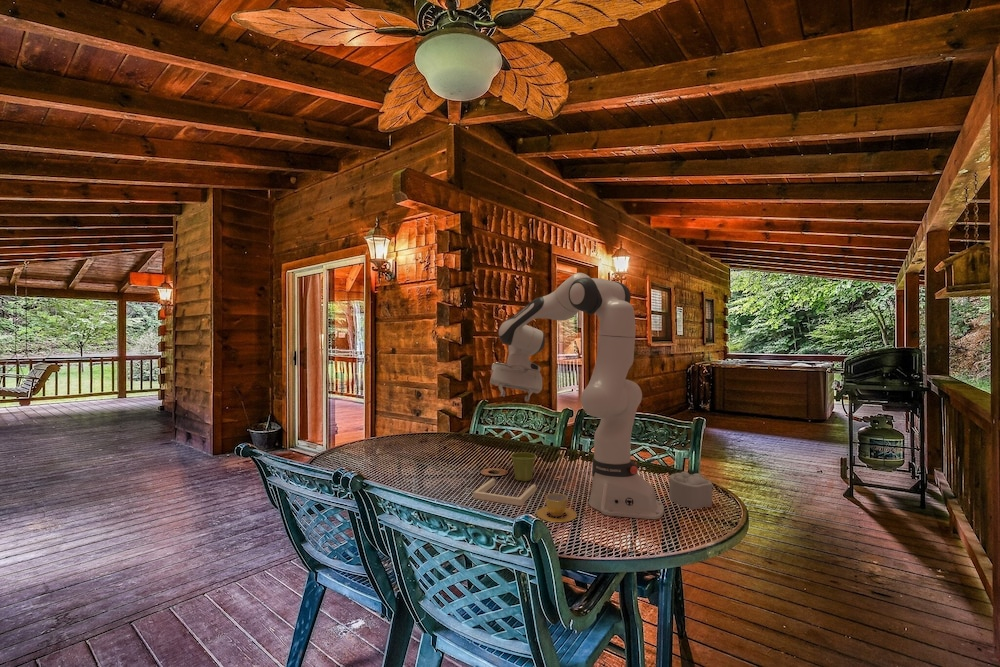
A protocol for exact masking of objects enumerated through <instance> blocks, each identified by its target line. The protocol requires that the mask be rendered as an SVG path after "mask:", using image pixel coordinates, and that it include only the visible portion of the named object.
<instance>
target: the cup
mask: <svg viewBox="0 0 1000 667" xmlns="http://www.w3.org/2000/svg"><path fill="white" fill-rule="evenodd" d="M545 504H546V506H544V507H543V506H542V507H541V508H539V509H537V510H536V511H535V513H536V516H537V517H538V518H539V519H541V520H543V521H547V522H551V523H566V522H567V523H568V522H570V521H574V520H575V519H576V518H577V517H578V514H577V512H576V511H575V510H573V509H572V508H569V507H567V505H568V496H567V495H565V494H562V493H557V492H554V493H548V494H545ZM547 513H549V514H550V516H553V517H550V516H548V515H547ZM564 513H565V514H566V516H565V517H562V516H563V515H564ZM554 517H557V518H554ZM558 517H562V518H558Z"/></svg>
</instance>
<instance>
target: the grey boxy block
mask: <svg viewBox="0 0 1000 667" xmlns="http://www.w3.org/2000/svg"><path fill="white" fill-rule="evenodd" d="M668 478H669V481H668V482H669V484H668V488H669V489H668V490H669V492H668V494H669V497H668V498H670V499H669V500H670V502H672V503H673V502H674V504H675V503H676V504H675V505H677V504H678V506H680V505H681V506H680V507H682V506H684V507H683V508H685V507H687V508H686V509H688V508H690V509H689V510H692V509H700V510H702V509H701V508H703V507H709V506H712V507H713V483H712V481H710V480H708V479H706V478H704V477H703V476H702V474H700V473H693V474H692V473H691V474H690V473H689V472H687V471H681V472H675V473H672V474H670V475H669V477H668ZM703 509H704V508H703Z"/></svg>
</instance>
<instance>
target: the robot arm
mask: <svg viewBox="0 0 1000 667" xmlns="http://www.w3.org/2000/svg"><path fill="white" fill-rule="evenodd" d="M631 297H632V295H631V291H630V289H629V287H628V286H627V285H625V284H624V283H622V282H619V281H616V280H615V281H613V280H609V279H605V278H598V277H597V278H596V277H594V278H593V277H592V278H591V276H589V275H588V274H586V273H583V272H576V273H574V274H572V275H571V276H569V277H568V278H567V279H565V281H563V282H562V283H561V284H560V285H559V286H558V287H557V288H556V289H555V290H554V291H552V292H550V293H549V294H547V295H544V296H539V297H535V298H534V299H533V300H532V301H530V302H529V303H528V304H526V305H525V306H524V307H522V308H521V309H520V310H518V312H516V313H515V314H514V315H512V316H511V317H509V318H506V320H504V321H503V322H502V323H501V325H500V326H499V328H498V330H497V331H498V332H497V334H498V337H499V340H500V341H501V343H502V345H507V346H508V356H507V360H506V363H503V362H497V361H495V362H493V363H492V364H491V375H490V379H489V382H490V384H491V385H493V386H498V390H499V392H500V397H503V398H505V396H506V393H507V392H506V390H504V388H507V389H513V390H518V391H523V392H527V394H528V395H527V394H526V395H525V396H524V402H530V399H531V398H530V397H531V395H532V394H533V393H534V394H539V393H540V392H542V390H543V376H542V374H541V373H540V372H541V370H542V367H541V366H540V365H538V364H536V363H534V362H532V361H530V357H531V356H535V355H536V354H538V353H541V351H542V350H543V349H544V348H545V346H546V337H545V333H544V331H543V330H540V329H538V328H535V327H534V326H531V325H528V323H530V322H532V321H533V320H535V319H548V320H551V321H554V320H555V321H559V322H561V321H562V322H563V321H568V320H570V319H572V318H574V316H576V315H577V314H578V313H579V312H580V311H581V312H584V313H585V314H587V315H590V316H592V315H594V314H595V315H596V316H597V317H598V320H599V328H598V340H597V352H596V361H595V364H594V368H593V370H592V374H591V377H590V380H589V382H588V384H587V385H586V387H585V388H584V389H583V391H582V393H581V396H580V404H581V406H582V410H583V411H584V412H585V413H586V414H587V415H588V416H591V417H594V418H598V419H599V418H600V422H599V424H598V427H597V428H596V430H595V432H594V439H593V445H594V446H593V458H592V464H591V473H592V477H593V478H592V485H591V486H592V487H591V492H590V495H589V499H588V505H589V507H591V508H593V509H594V510H597V511H599V513H601V514H602V515H604V516H609V517H610V516H611V517H620V518H621V517H622V518H633V519H646V520H657V519H658V520H659V519H660V518H662V517H663V515H664V514H665V506H664V504H663V503H662V502H661V501H660V500H657V496H656V495H657V494H656V492H655V491H656V490H655V489H654V487H653V486H652V484H650V483H649V482H648V481H646V480H645V479H644V478H643V477H642V476H641V475H639V473H638V471H639V470H638V463H637V461H635V462H634V461H633V460H631V450H632V449H631V442H632V432H633V426H634V422H635V418H636V414H637V410H638V408H639V406H640V404H641V402H642V399H643V392H642V389H641V387H640V386H639V384H638V383H637V382H635V381H633V380H630V379H627V375H628V372H629V371H630V369H631V367H632V366H633V363H634V358H635V348H636V347H635V346H636V344H635V342H636V315H635V309H634V307H633V304H631Z"/></svg>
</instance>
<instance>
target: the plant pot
mask: <svg viewBox="0 0 1000 667" xmlns="http://www.w3.org/2000/svg"><path fill="white" fill-rule="evenodd" d="M510 458H511V461H512V466H513V472H514V479H515V480H516V481H521V482H529V481H531V480H532V479H533V472H534V464H535V461H536V458H537V455H536V454H535V453H532V452H525V451H524V452H514V453H512V454H510Z"/></svg>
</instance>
